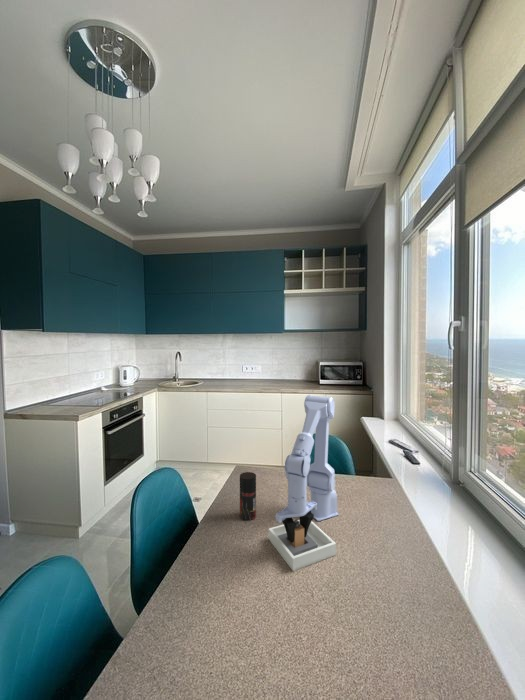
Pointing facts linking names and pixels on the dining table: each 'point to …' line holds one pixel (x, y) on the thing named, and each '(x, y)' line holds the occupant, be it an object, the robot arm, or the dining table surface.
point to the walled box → (307, 558)
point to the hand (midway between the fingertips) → (297, 538)
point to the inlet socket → (307, 546)
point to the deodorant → (247, 496)
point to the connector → (298, 535)
